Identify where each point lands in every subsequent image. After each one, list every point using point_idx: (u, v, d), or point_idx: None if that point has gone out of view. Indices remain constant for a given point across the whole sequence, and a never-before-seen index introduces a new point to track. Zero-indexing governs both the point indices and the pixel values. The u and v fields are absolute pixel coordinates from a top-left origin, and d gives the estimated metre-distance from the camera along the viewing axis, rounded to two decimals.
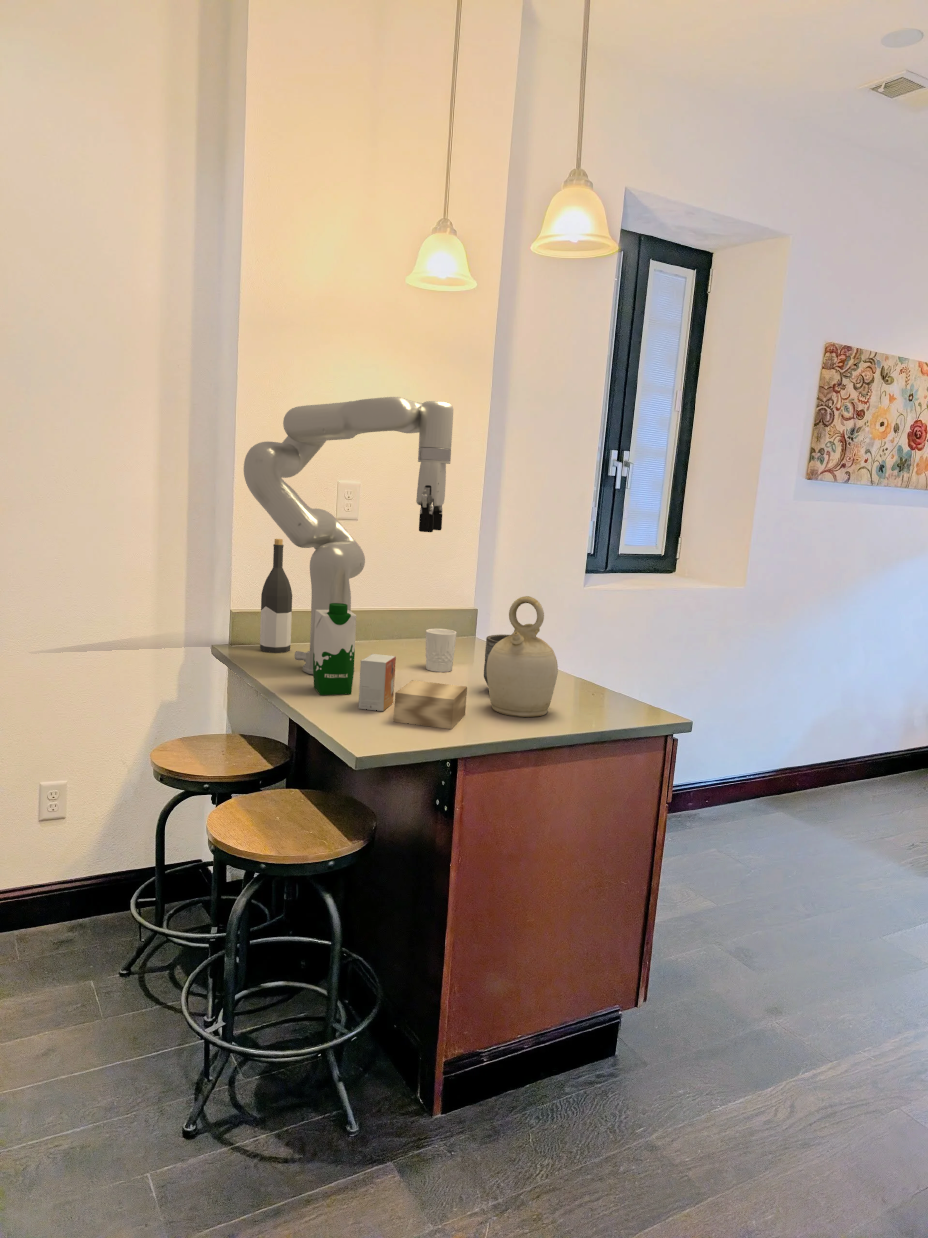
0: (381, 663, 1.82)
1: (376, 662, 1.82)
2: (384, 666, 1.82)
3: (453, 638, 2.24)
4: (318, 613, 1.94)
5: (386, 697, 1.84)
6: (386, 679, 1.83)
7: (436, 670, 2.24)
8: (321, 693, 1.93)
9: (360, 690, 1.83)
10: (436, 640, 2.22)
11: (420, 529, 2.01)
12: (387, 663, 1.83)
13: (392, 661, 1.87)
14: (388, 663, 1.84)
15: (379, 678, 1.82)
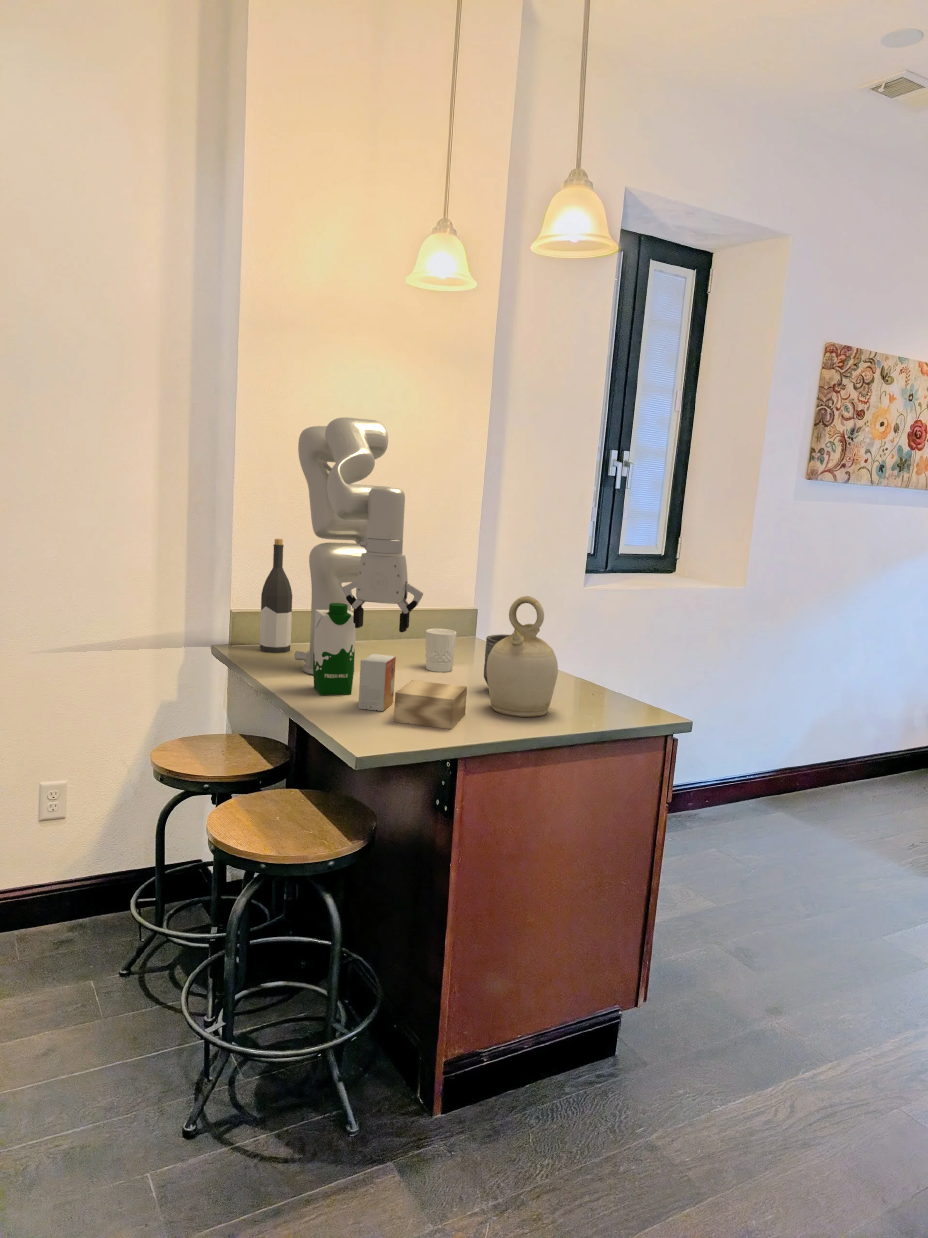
0: (381, 663, 1.82)
1: (376, 662, 1.82)
2: (384, 666, 1.82)
3: (453, 638, 2.24)
4: (318, 613, 1.94)
5: (386, 697, 1.84)
6: (386, 679, 1.83)
7: (436, 670, 2.24)
8: (321, 693, 1.93)
9: (360, 690, 1.83)
10: (436, 640, 2.22)
11: (402, 630, 1.82)
12: (387, 663, 1.83)
13: (392, 661, 1.87)
14: (388, 663, 1.84)
15: (379, 678, 1.82)
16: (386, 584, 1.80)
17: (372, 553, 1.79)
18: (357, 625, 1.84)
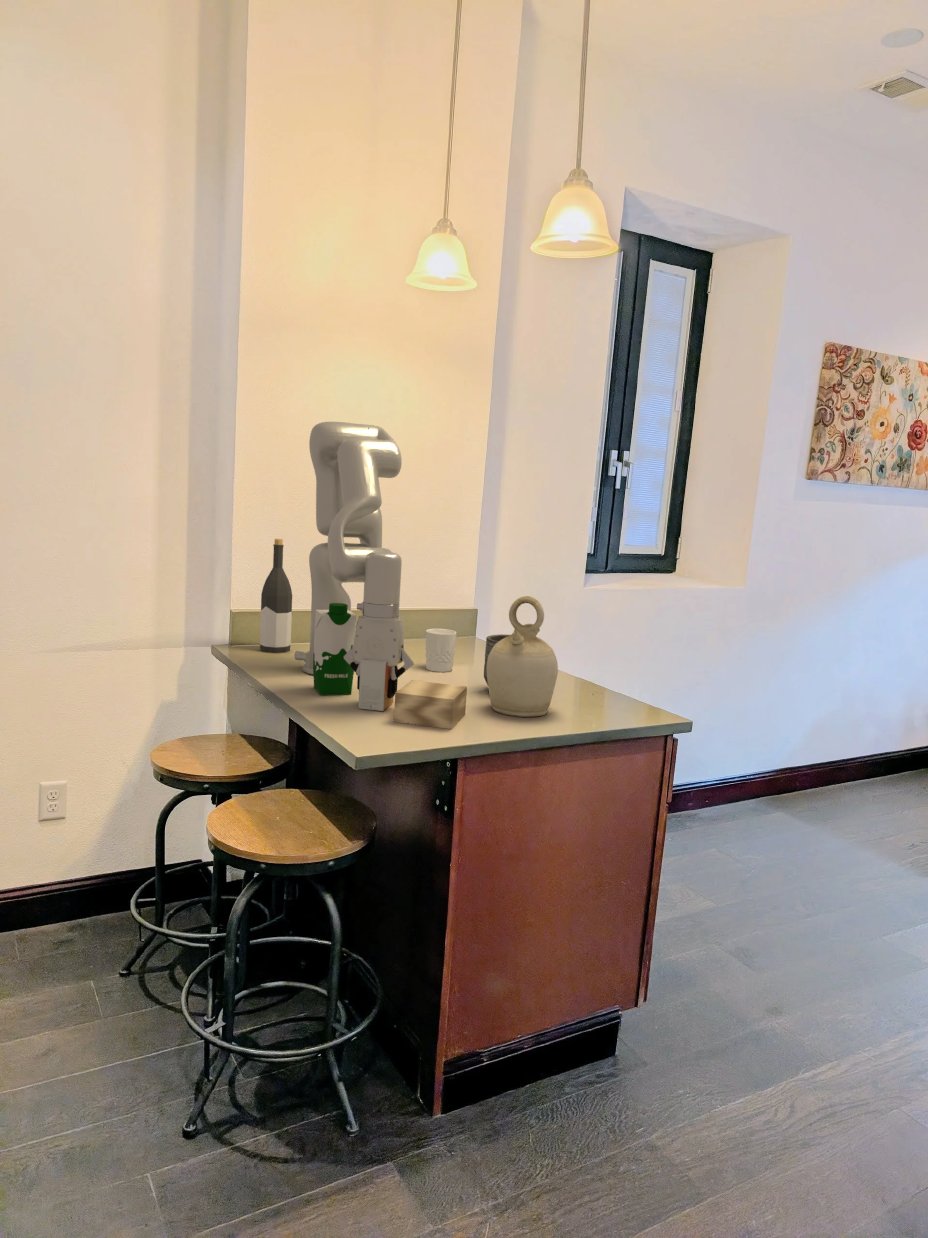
0: (381, 663, 1.82)
1: (376, 662, 1.82)
2: (384, 666, 1.82)
3: (453, 638, 2.24)
4: (318, 613, 1.94)
5: (386, 697, 1.84)
6: (386, 679, 1.83)
7: (436, 670, 2.24)
8: (321, 693, 1.93)
9: (360, 690, 1.83)
10: (436, 640, 2.22)
11: (390, 696, 1.85)
12: None
13: None
14: None
15: (379, 678, 1.82)
16: (382, 648, 1.82)
17: (369, 617, 1.81)
18: None
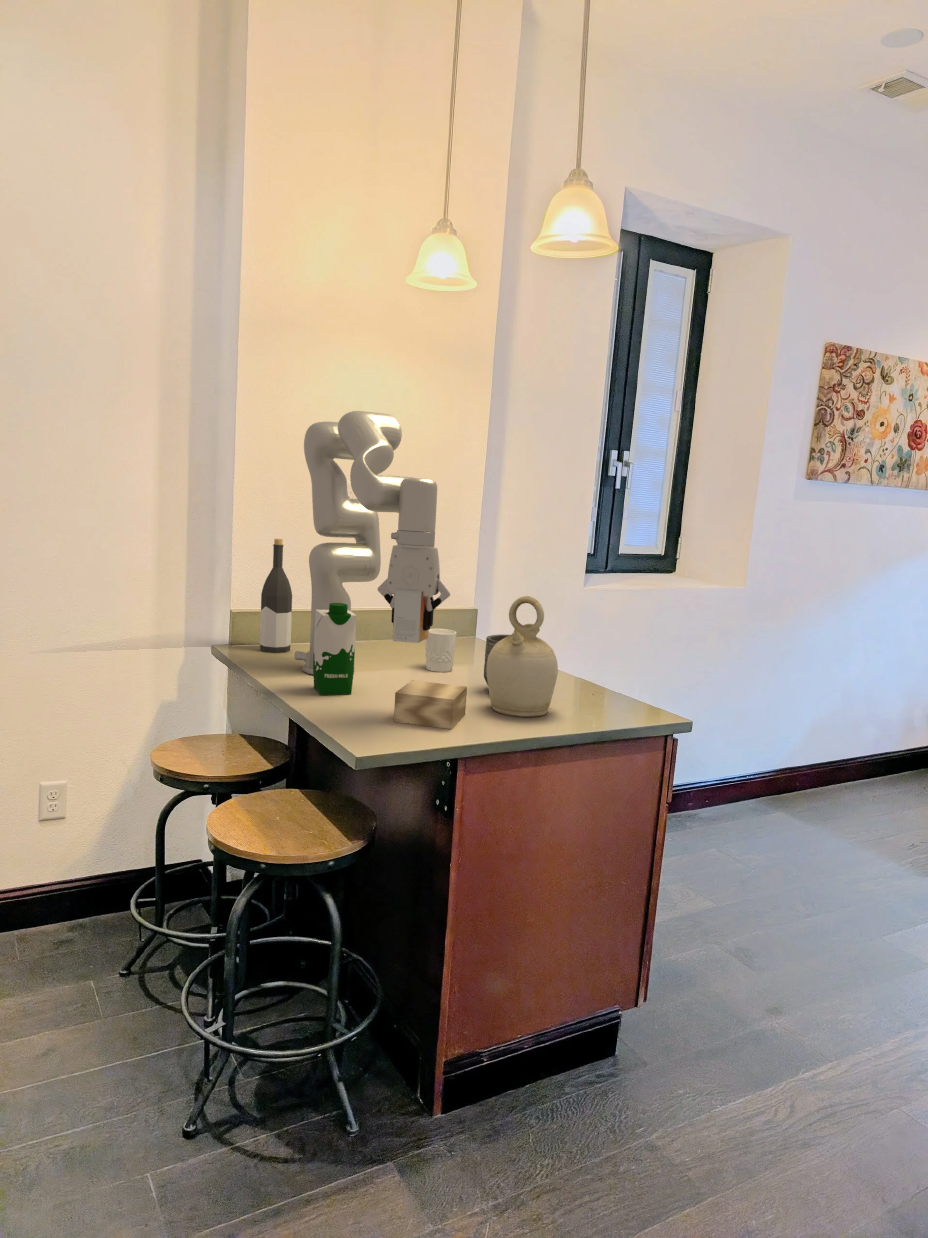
0: (416, 592, 1.75)
1: (411, 591, 1.76)
2: (419, 595, 1.75)
3: (453, 638, 2.24)
4: (318, 613, 1.94)
5: (421, 629, 1.78)
6: (421, 609, 1.77)
7: (436, 670, 2.24)
8: (321, 693, 1.93)
9: (395, 621, 1.77)
10: (436, 640, 2.22)
11: (426, 628, 1.79)
12: (422, 593, 1.76)
13: None
14: None
15: (414, 608, 1.76)
16: (418, 577, 1.76)
17: (404, 545, 1.75)
18: None
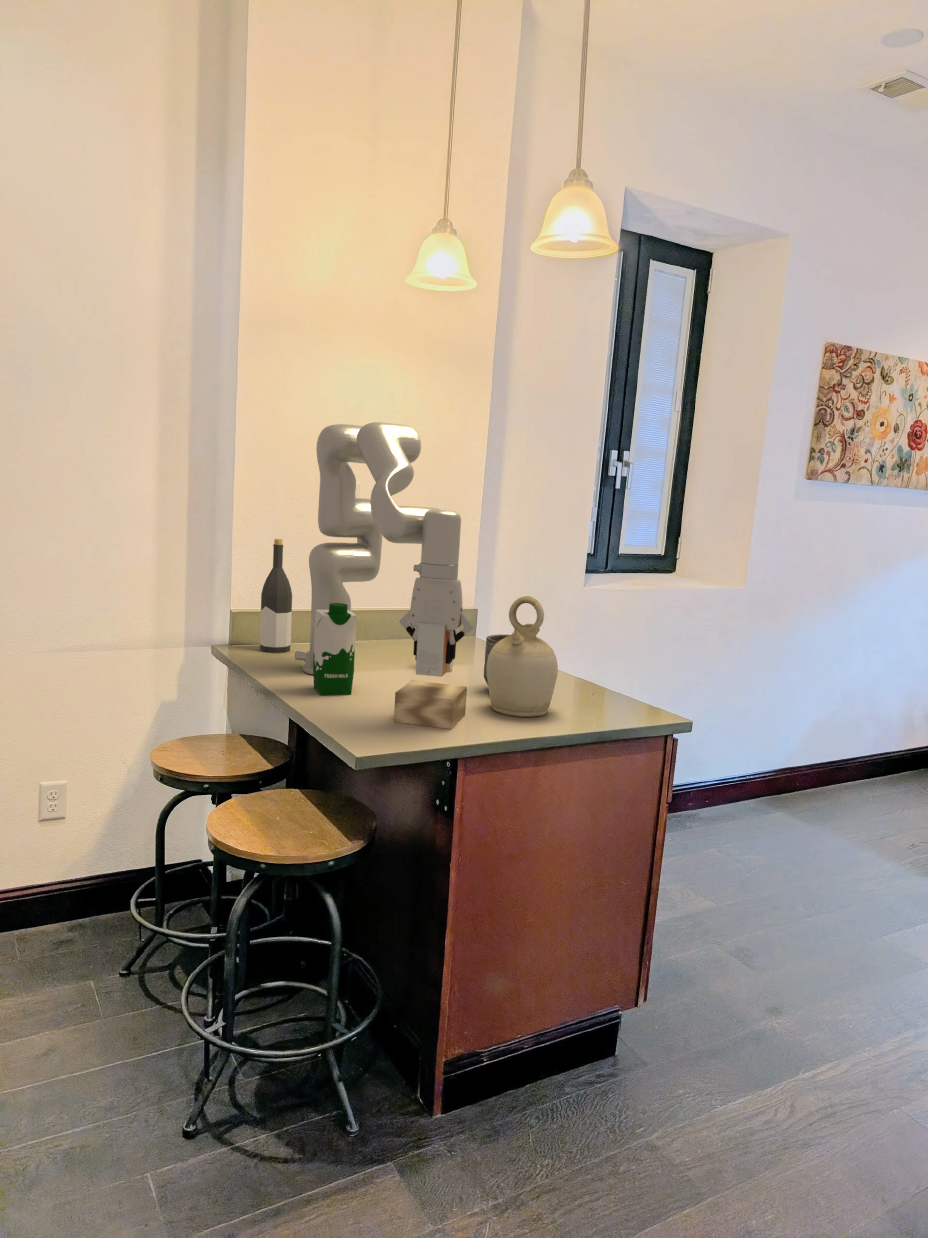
0: (440, 626, 1.74)
1: (435, 625, 1.74)
2: (443, 629, 1.74)
3: None
4: (318, 613, 1.94)
5: (444, 662, 1.76)
6: (445, 643, 1.75)
7: None
8: (321, 693, 1.93)
9: (417, 655, 1.75)
10: None
11: (449, 661, 1.77)
12: None
13: None
14: None
15: (438, 642, 1.74)
16: (441, 610, 1.74)
17: (427, 578, 1.73)
18: None
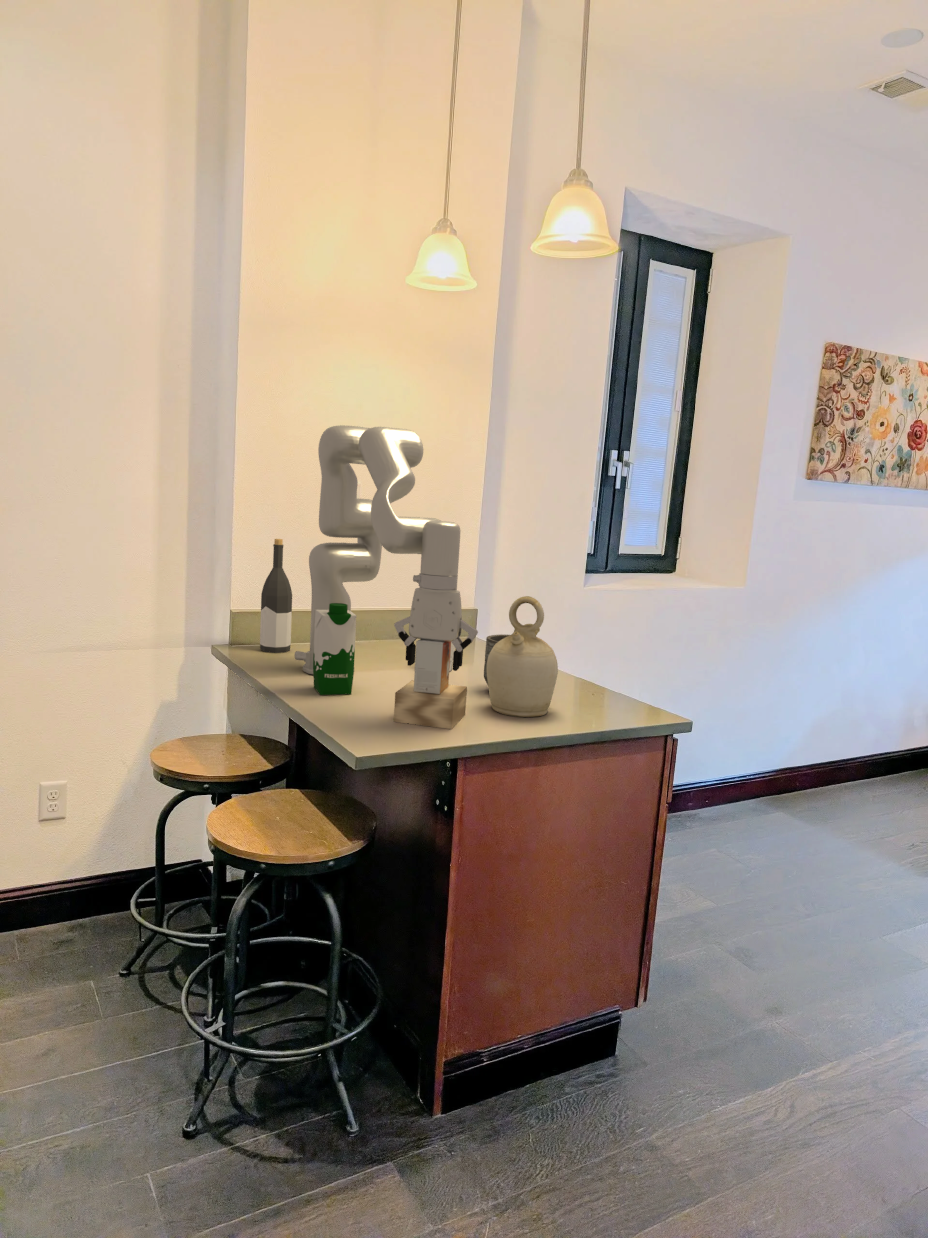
0: (438, 644, 1.74)
1: (433, 643, 1.75)
2: (441, 647, 1.74)
3: None
4: (318, 613, 1.94)
5: (442, 679, 1.77)
6: (443, 661, 1.76)
7: None
8: (321, 693, 1.93)
9: (415, 672, 1.76)
10: None
11: (456, 668, 1.77)
12: (444, 644, 1.75)
13: (448, 642, 1.79)
14: (445, 644, 1.76)
15: (436, 659, 1.75)
16: (441, 621, 1.75)
17: (427, 589, 1.74)
18: (409, 662, 1.79)
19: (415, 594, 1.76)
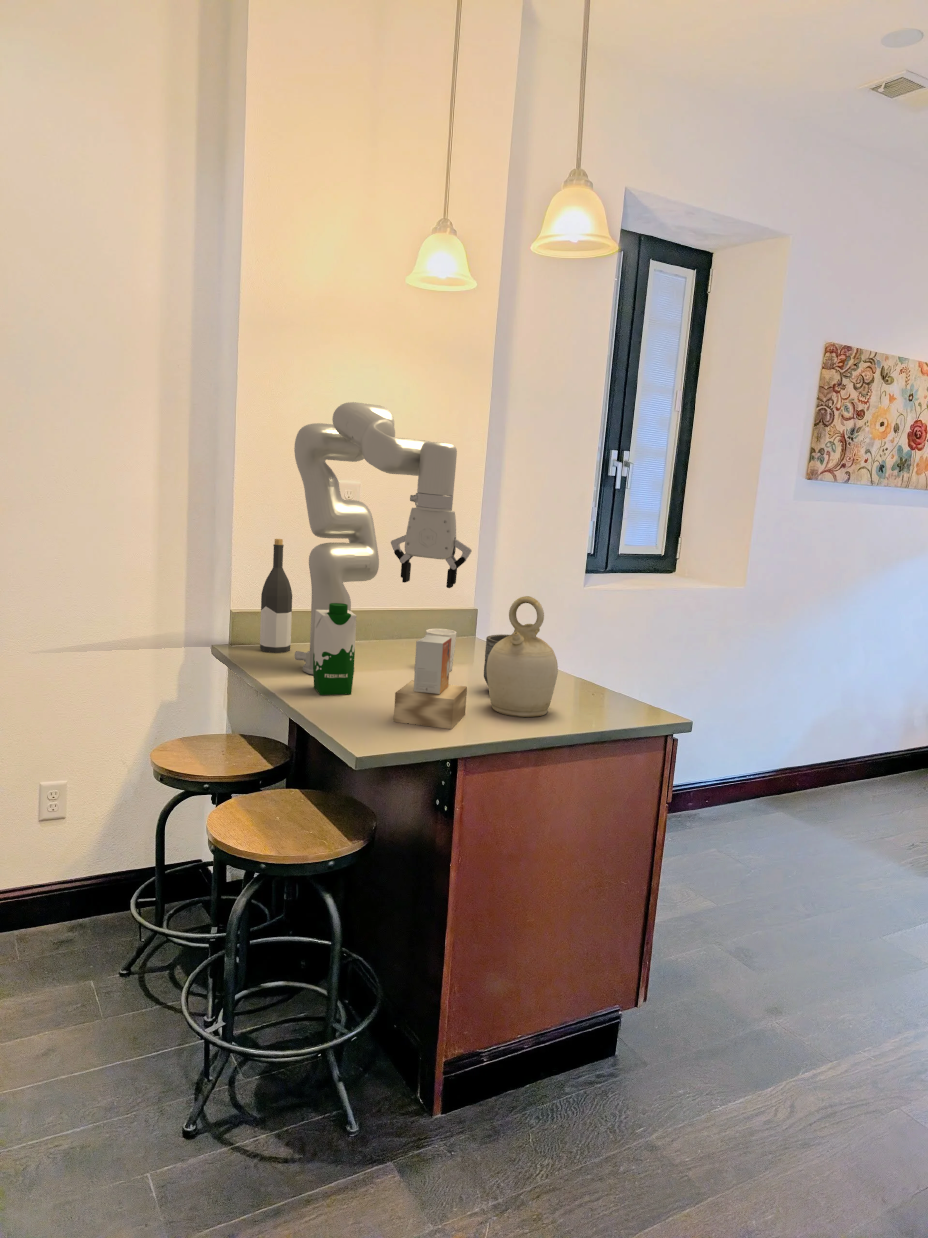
0: (438, 644, 1.74)
1: (433, 643, 1.75)
2: (441, 647, 1.74)
3: (453, 638, 2.24)
4: (318, 613, 1.94)
5: (442, 679, 1.77)
6: (443, 661, 1.76)
7: None
8: (321, 693, 1.93)
9: (415, 672, 1.76)
10: None
11: (450, 586, 1.83)
12: (444, 644, 1.75)
13: (448, 642, 1.79)
14: (445, 644, 1.76)
15: (436, 659, 1.75)
16: (435, 539, 1.81)
17: (422, 508, 1.80)
18: (404, 579, 1.85)
19: (411, 513, 1.82)
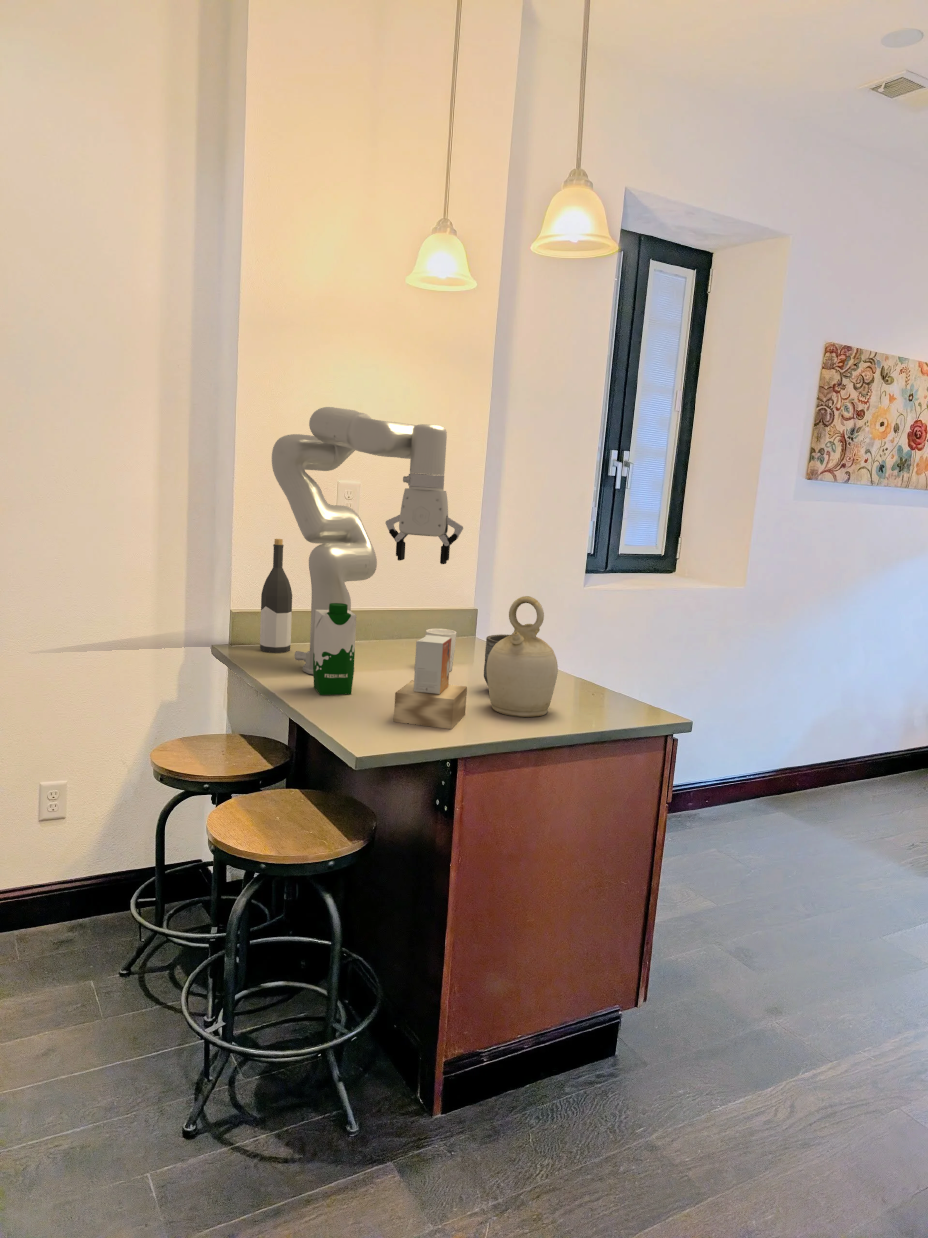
0: (438, 644, 1.74)
1: (433, 643, 1.75)
2: (441, 647, 1.74)
3: (453, 638, 2.24)
4: (318, 613, 1.94)
5: (442, 679, 1.77)
6: (443, 661, 1.76)
7: None
8: (321, 693, 1.93)
9: (415, 672, 1.76)
10: None
11: (443, 562, 1.91)
12: (444, 644, 1.75)
13: (448, 642, 1.79)
14: (445, 644, 1.76)
15: (436, 659, 1.75)
16: (428, 517, 1.89)
17: (415, 487, 1.88)
18: (399, 557, 1.93)
19: (405, 493, 1.90)
